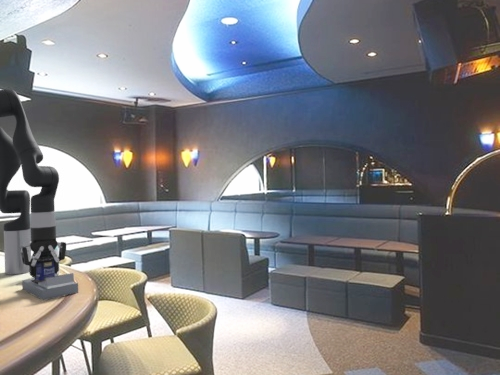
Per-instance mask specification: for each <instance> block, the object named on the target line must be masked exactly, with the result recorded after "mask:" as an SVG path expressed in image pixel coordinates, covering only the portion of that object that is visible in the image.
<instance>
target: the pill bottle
mask: <svg viewBox="0 0 500 375" xmlns="http://www.w3.org/2000/svg"><path fill="white" fill-rule="evenodd" d="M35 266H36V277H33V278H34V281H35V283H36V284H38V282H43V281H46V278H47V277H53V276H55V265H54V258H53V257H52V256H51V250H47V251H42V252H41V255H40V257H39V259H38V260H37V262H36V264H35Z"/></svg>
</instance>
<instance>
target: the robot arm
mask: <svg viewBox="0 0 500 375" xmlns="http://www.w3.org/2000/svg"><path fill="white" fill-rule="evenodd" d="M12 116H13V117H14V118H15V121H16V123H15V127H14V132H13V136H12V137H11V136H10V135H9V134H8V133H7V132H6V131H5V130H4V129H3V127H2V126H1V125H0V212H1V213H2V214H20V215H19V217H17V218H16V219H13V220H12V221H8V222H6V223H4V224H3V243H4V244H3V247H4V248H3V250H4V273H5V275H19V274H20V275H21V274H26V273H29V276H31V278H34V277H36V266H35V264H36V262H37V260H38V259H39V257H40V255H41V252H42V251H47V250H51V256H52V257H53V258H54V265H55V274H57V272H58V271H59V268H60V262H61V261H64V260H65V259H66V248H67V243H66V242H64V241H57V226H56V225H57V224H56V222H57V221H56V218H57V217H56V212H55V198H56V195H57V189H58V186H59V182H60V174H59V172H58V170H57V169H56V168H55V167H53V166H47V165H45V166H44V165H43V166H42V165H39V164H40V163H41V162H42V161H43V160H44V155H43V153H42V151H41V148H40V146H39V145H38V142H37V141H36V139H35V137H34V135H33V132H32V129H31V126H30V123H29V121H28V118H27V115H26V112H25V109H24V106H23V104H22V101H21V99H20V97H19V95H18V94H17V92H16V91H15V90H14V89H7V88H6V89H5V88H4V89H0V118H6V117H12ZM20 168H21V170H22V177H23V180H24V182H25V183H26V184H27V185H28V186H29V187H31V188H41V189H40V192H39V193H36V194H34V195H32V196H30V193H29V191H28V190H25V189H20V190H19V189H18V190H16V189H15V190H9V189H8V186H9V185H10V182H11V180H12V179H13V178H14V176H15V175H16V174H17V172H18V171H19V170H20ZM57 246H58V248H59V257H57V254H56V253H55V251H54V250H55V248H56V247H57ZM32 252H33V253H32Z"/></svg>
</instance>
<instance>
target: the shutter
mask: <svg viewBox="0 0 500 375" xmlns="http://www.w3.org/2000/svg"><path fill="white" fill-rule="evenodd" d="M74 275H75V274H74V273H73V272H70V273H66V274H64V273H63V274H60V275H59V274H58V276H53V277H47V278H46V281H43V282H38V285H39V286H42V287H44V288H46V289H51V288H56V287H61V286H66V285H71V284H74V282H75V281H74V280H75V278H74Z"/></svg>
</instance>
